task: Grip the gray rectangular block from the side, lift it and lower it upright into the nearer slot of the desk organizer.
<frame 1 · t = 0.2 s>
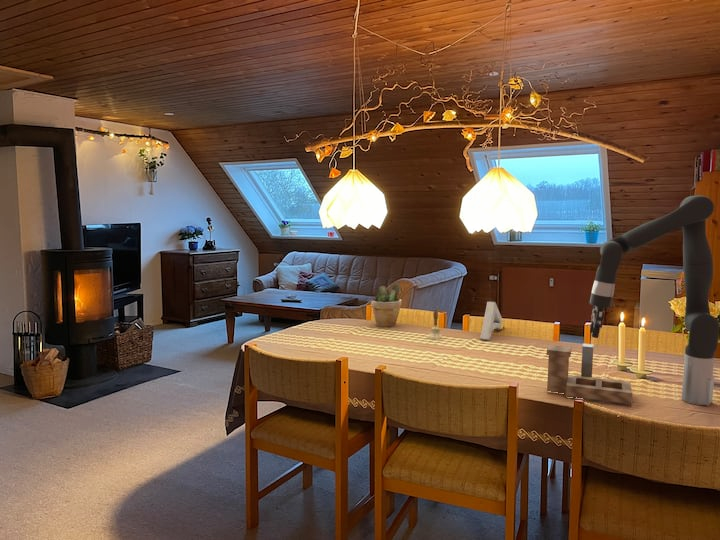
hand: (593, 335, 211), 22 cm above the table, tool pointing down, fingers open, 8 cm apart
gray rectangular block: (586, 384, 224), on the table
desk organizer: (598, 396, 209), on the table
potted plant: (385, 325, 333), on the table
hand bell: (435, 337, 303), on the table
white letter a: (492, 334, 312), on the table
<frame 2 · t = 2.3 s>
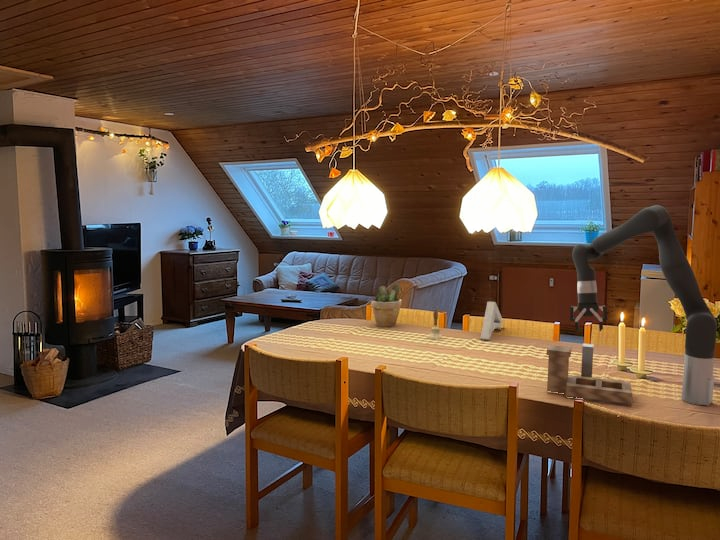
hand: (589, 331, 231), 20 cm above the table, tool pointing down, fingers open, 8 cm apart
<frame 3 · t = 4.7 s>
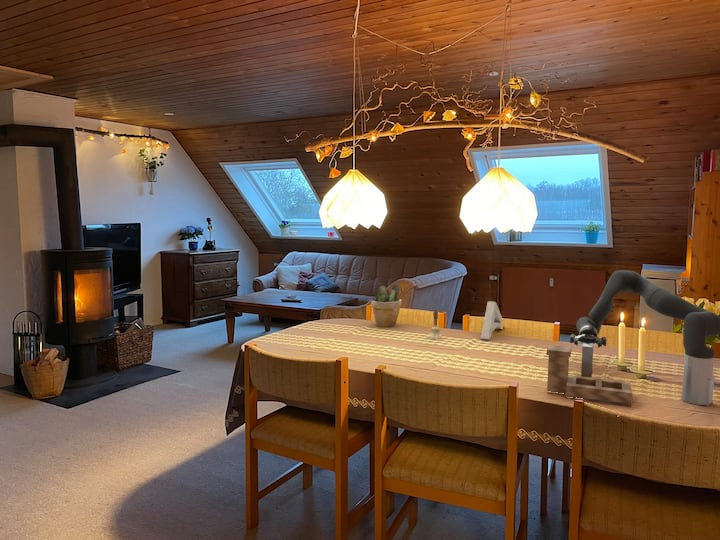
hand: (587, 344, 231), 14 cm above the table, tool horizontal, fingers open, 8 cm apart
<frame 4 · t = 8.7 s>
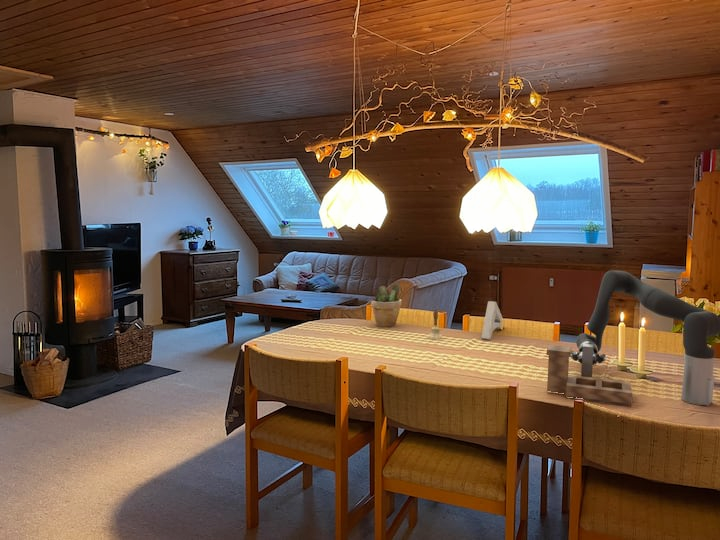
hand: (587, 361, 220), 10 cm above the table, tool horizontal, fingers closed on gray rectangular block, 4 cm apart
gray rectangular block: (586, 384, 224), on the table, touching gripper
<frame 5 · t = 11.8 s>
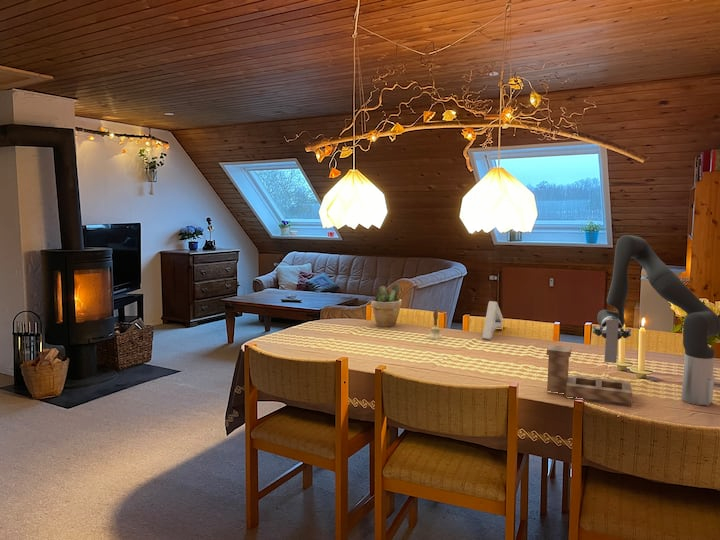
hand: (611, 336, 204), 24 cm above the table, tool horizontal, fingers closed on gray rectangular block, 4 cm apart
gray rectangular block: (610, 360, 207), point 14 cm above the table, touching gripper
when the fingers open (12 cm above the table, at t = 15.0 s): gray rectangular block drops 1 cm, resting on desk organizer.
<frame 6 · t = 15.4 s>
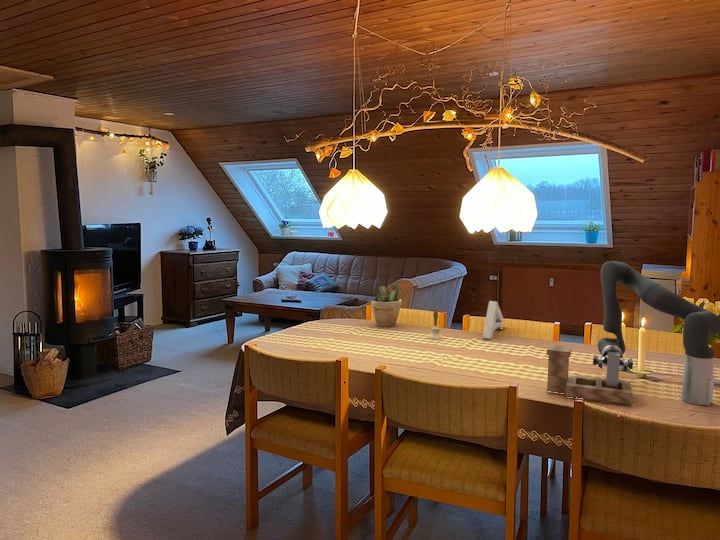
hand: (612, 367, 204), 12 cm above the table, tool horizontal, fingers open, 7 cm apart
gray rectangular block: (611, 395, 207), point 1 cm above the table, touching desk organizer
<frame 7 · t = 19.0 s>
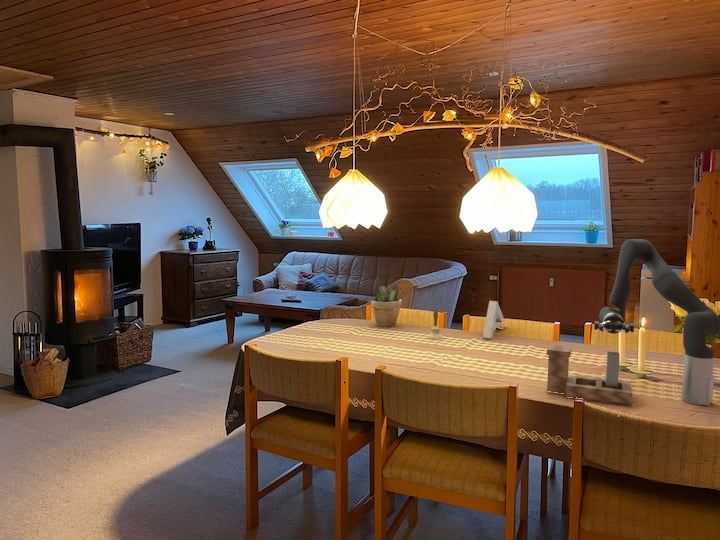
hand: (614, 329, 214), 24 cm above the table, tool horizontal, fingers open, 8 cm apart
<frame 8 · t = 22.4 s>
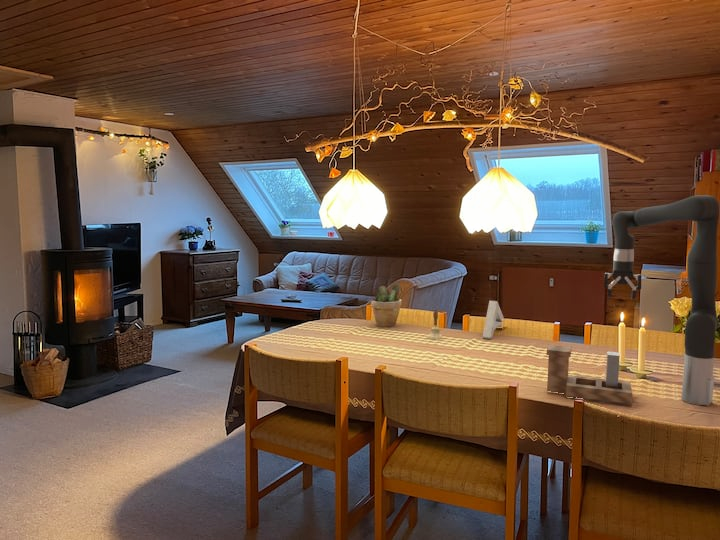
hand: (621, 298, 231), 33 cm above the table, tool pointing down, fingers open, 8 cm apart
at the end: gray rectangular block 0.2 cm from the target spot on the desk organizer, point 1.0 cm above the desk organizer's base; gray rectangular block tilted 0°; the gripper is holding nothing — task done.
